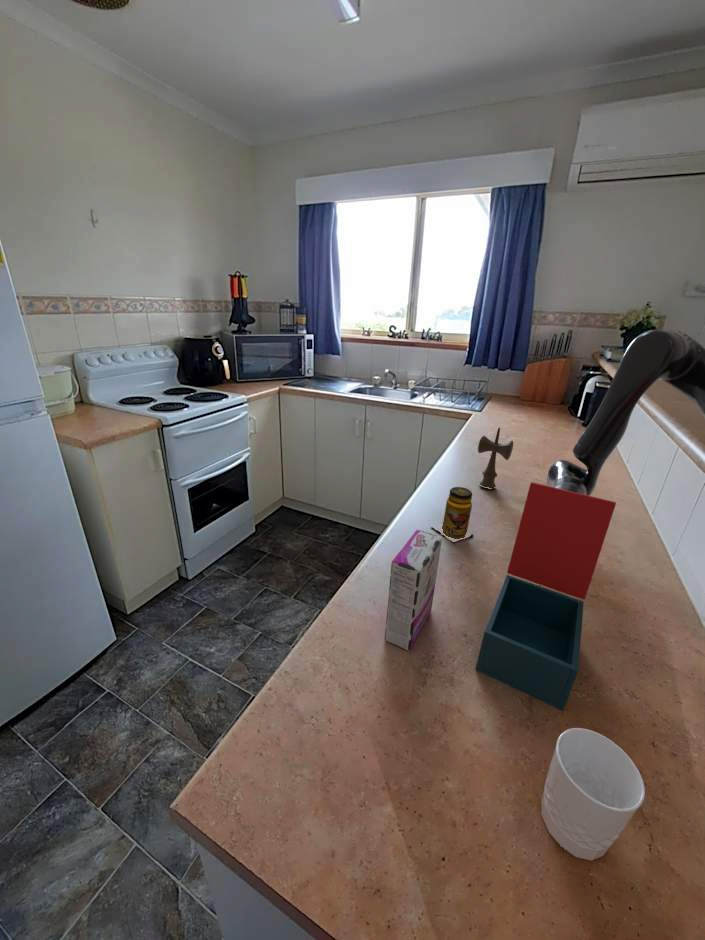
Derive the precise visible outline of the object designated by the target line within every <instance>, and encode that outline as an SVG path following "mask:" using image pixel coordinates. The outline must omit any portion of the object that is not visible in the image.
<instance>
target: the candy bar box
mask: <svg viewBox="0 0 705 940" xmlns="http://www.w3.org/2000/svg"><path fill="white" fill-rule="evenodd" d="M442 542H443V536H439V535H436V534H432V533H430V532H425V531H424V530H420V529H416V530H415V531H414V533H413V534H412V535H411V537H410V538H409V539H408V540H407V541H406V543H405V544H404V545H403V547H402V548H401V549H400V550H399V551H398V553H397V554H396V556H395V557H394V558H393V559H392V560H391V565H390V577H389V588H388V600H387V609H386V610H387V611H386V621H385V630H384V641H385V642H388V643H389V644H392V645H394V646H397V647H398V648H401V649H403V650H405V651H407V652H411V650H412V649H413V646H414V644H415V642H416V641H417V639H418V637H419V635H420V633H421V631H422V630H423V628H424V626H425V624H426V622H427V620H428V618H429V616H430V615H431V613H432V608H433V602H434V601H433V600H434V597H435V596H434V595H435V588H436V583H437V582H436V581H437V574H438V568H439V560H440V554H441V547H442Z"/></svg>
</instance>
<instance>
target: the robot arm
mask: <svg viewBox="0 0 705 940" xmlns="http://www.w3.org/2000/svg"><path fill="white" fill-rule="evenodd" d="M656 381H662V382H664V383H666V384H667V385H669V386H671V387H672V388H674V389H675V390H676V391H678V392H680V393H681V394H682V395H684V396H685V397H687V398H688V400H690V401H691V402H692V403H693V404H694V405H695V406H696V407H697V409H698V411H699V413H700V414H701V415H702V417H703V418H704V419H705V347H704V346H703V345H701V343H699V341H697V340H696V339H695V338H694V337H693V336H691V335H690V334H688V333H686V332H684V331H680V330H673V329H672V330H670V329H651V330H648V331H647V330H646V331H644V332H642V333H641V334H639V335H638V336H636V337H635V338H634V339H633V340H632V341H631V342H630V343H629V345H628V346H627V348H626V350H625V351H624V353H623V356H622V358H621V360H620V362H619V365H618V367H617V369H616V371H615V374H614V376H613V378H612V380H611V382H610V384H609V386H608V389H607V391H606V393H605V396H604V397H603V399H602V401H601V403H600V405H599V407H598V408H597V411H596V412H595V413H594V415H593V417H592V419H591V420H590V422H589V424H588V425H587V426H586V428H585V429H584V431H583V433H581V435H580V437H579V438H578V440H577V441H576V443H575V444H574V446H573V448H572V454H573V456H574V457H575V459H577V460H578V461H579V462H580V463H581V464H582V465H584V466H585V467H586V468H584V467H582V466H579V465H577V464H576V463H573V462H571V461H568V460H565V459H561V460H556V461H555V462H554V463H553V464H551V466H550V467H549V469H548V470H547V474H546V485H547V486H551V487H555V488H559V489H563V490H567V491H572V492H576V493H580V494H584V495H588V496H592V495H593V493H594V491H595V489H596V486H597V484H598V480H599V476H600V474H601V471H602V469H603V466H604V464H605V463H606V461H607V460H608V458H609V457H610V456H611V454H612V453H613V452H614V450H615V449H616V448H617V446H618V445H619V444H620V442H621V441H622V439H623V437H624V435H625V434H626V431H627V428H628V425H629V422H630V419H631V416H632V413H633V412H634V410H635V408H636V405H637V404H638V402H639V400H640V399H641V398H642V397H643V395H644V394H645V393H646V392H647V391H648V390H649V388H651V387H652V386H653V384H654V383H655V382H656Z"/></svg>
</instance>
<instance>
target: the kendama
mask: <svg viewBox="0 0 705 940" xmlns="http://www.w3.org/2000/svg"><path fill="white" fill-rule="evenodd" d="M500 433H501V427H498V428H497V431H496V435H495V439H494V441H492V440H490V439H489V438H488V437H487V436H486V435H482V436H481V438H480V439H479V442H478V445H477V452H478V454H483V453H486V452H491V454H490V458H489V460H488V462H487V465H486V468H485V470H483V471H482V473H481V474H482V480H481V481H480V482H479V483H480V485H482V486H484V487H489V488H494V487H496V488H497V485H496V483H495V479H496V478H497V477H498V473H497V472H496V461H497V454H499V455H500V456H502V458H503V459H504V460H506V461H508V460H510V458H511V456H512V453H513V449H514V441H513V440H509V441H506V442H501V443H500V442H499V439H500ZM480 485H479V486H480Z"/></svg>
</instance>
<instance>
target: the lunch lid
mask: <svg viewBox="0 0 705 940" xmlns="http://www.w3.org/2000/svg"><path fill="white" fill-rule="evenodd" d="M616 504H617V502H616V501H612V500H609V499H604V498H601V497H596V496H592V495H590V496H588V495H584V494H580V493H576V492H572V491H567V490H563V489H559V488H555V487H551V486H548V485H547V484H542V483H538V482H533V481H530V484H529V487H528V492H527V495H526V498H525V503H524V506H523V511H522V515H521V518H520V522H519V525H518V529H517V533H516V536H515V540H514V545H513V549H512V552H511V555H510V561H509V563H508V567H507V570H506V573H507V575H510V576H513V577H516V578H519V579H522V580H523V579H524V580H525V581H527V582H530V583H533V584H536V585H539V586H542V587H545V588H547V589H550V590H553V591H556V592H559V593H562V594H565V595H568V596H570V597H573V598H576V599H579V600H582V601H584V600H586V597H587V594H588V591H589V589H590V585H591V582H592V578H593V575H594V572H595V571H596V567H597V563H598V560H599V557H600V554H601V550H602V548H603V545H604V542H605V538H606V536H607V533H608V530H609V528H610V527H609V526H610V523H611V520H612V518H613V514H614V512H615V508H616Z"/></svg>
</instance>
